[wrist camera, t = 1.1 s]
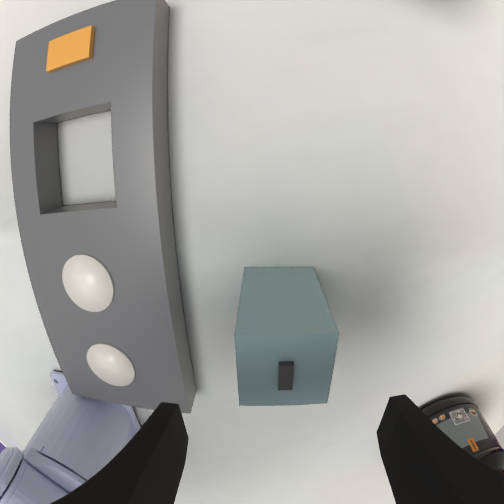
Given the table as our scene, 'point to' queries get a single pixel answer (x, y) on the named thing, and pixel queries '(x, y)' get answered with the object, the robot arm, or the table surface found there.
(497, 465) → the supplement container
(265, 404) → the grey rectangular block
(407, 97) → the table surface
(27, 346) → the table surface
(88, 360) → the control panel
